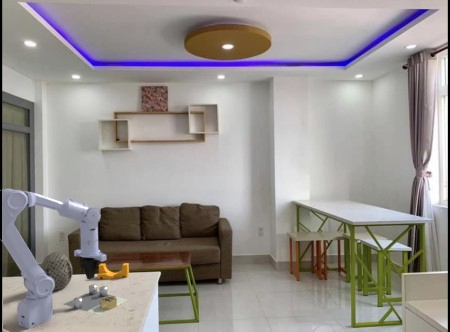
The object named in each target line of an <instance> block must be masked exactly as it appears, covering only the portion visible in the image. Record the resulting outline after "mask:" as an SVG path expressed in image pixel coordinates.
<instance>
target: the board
mask: <svg viewBox="0 0 450 332" xmlns="http://www.w3.org/2000/svg"><path fill="white" fill-rule="evenodd" d="M107 296H113V295H111V294H109V293H107ZM114 296H115V295H114ZM80 297H82V306H83V307H82V308H81V309H80V310H81V311H84V312H88V313H91V314H94V315H97V316H101V315H103V314H105V313H106V312H109V311H110V310H111V309H109V310H102V309H101V307H100V299H102V298H104V297H100V296H99V291H97V294H95V295H89V292H87V293H86V294H84V295H81V296H80ZM115 297H116V299H117V306H116V307H118V306H119V305H122V304H123V303H125V302H127V301H128V299H127V298H122V297H119V296H115ZM64 305H65V306H68V307H72V308H74V303H73V299H72V300H69V301H67V302H64Z"/></svg>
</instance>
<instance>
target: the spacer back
mask: <svg viewBox="0 0 450 332" xmlns="http://www.w3.org/2000/svg"><path fill="white" fill-rule="evenodd" d="M97 292H98V285H97V283H96V284H93V283H92V284H90V285H88V293H89V295H95V294H97Z"/></svg>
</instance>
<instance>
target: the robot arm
mask: <svg viewBox="0 0 450 332" xmlns="http://www.w3.org/2000/svg"><path fill="white" fill-rule="evenodd" d="M1 190H2V240H1V243H2V244H3V245H4V246H5V248H6V250H7V251H8V253H9V255H10V257H11V258H12V259H13V261H14V262H15V264H16V266H17V268H18V269H19V270H20V274H21V276H22V278H23V286H24V287H25V289H26V290H27V292H26V297H25V298H24V299H22V300H21V301H19V302H18V303H17V309H16V312H17V315H16V316H17V325H18V326H21V327H23V328H26V329H28V330H29V329H32V328H34V327H37V326H39V325H41V324H45V323H47V322H49V321H51V320H52V319H53V318H54V312H53V311H54V308H53V304H54V303H53V289H54V287H55V282H54V280H53V279H52V278H51V277H49V276H47V275H46V273H45V272H44V271H43V269H42V268H41V265H39V263H38V262H37V260H36V258H35V256H34V255H33V253H32V251H31V250H30V249H29V246H27V243H26V242H25V240H24V239H23V237H22V235H21V234H20V232H19V230H18V229H17V227H16V225H15V221H16V220H17V218H18V215H19V214H20V213H22V211H24V209H25V208H31V207H34V206H39V207H43V208H46V209H51V210H55V211H57V214H58V215H59V216H61V217H63V218H68V219H71V220H74V221H78V222H80V225H79V226H80V229H79V230H80V249H76V250H74V251H73V254H74V255H73V256H74V257H81V259H79V263H80V265H81V266H82V268H83V270H84V273H85V274H84V275H85V276H86V279H87V280H91V279H95V275H96V271H97V267H98V266H99V264H100V262H102V263H103V262H105V261H107V260H108V259H107V254H105V253H103V252H101V250H100V249H99V221H100V220H101V216H102V214H100V210H98V208H95V207H92V206H88V204H87V203H80V202H77V201H76V200H75V199H74V198H70V199H65V200H61V201H59V200H57V199H55V198H51V197H48V196H46V195H43V194H39V193H37V192H31V191H27V190H26V191H25V190H19V189H13V188H7V187H6V188H3V189H1Z"/></svg>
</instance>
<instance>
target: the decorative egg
mask: <svg viewBox="0 0 450 332" xmlns="http://www.w3.org/2000/svg"><path fill="white" fill-rule="evenodd" d="M40 267H41V268H42V269H43V271H44V272H45V273H46V275H47V276H49V277H51V278H52V279H53V280H54V282H55V287H54V289H53V291H60V290H62V289H64V288H66V287H67V286H68V285H69V283H70V282H71V281H72V278H73V266H72V263H71V261H70V259H69V258H68V256H67V255H66V254H64V253H62V252H58V251H55V252H51V253H49V254H48V255H47V256H45V257H44V259H43V260H42V262H41V265H40ZM53 291H52V292H53Z"/></svg>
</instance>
